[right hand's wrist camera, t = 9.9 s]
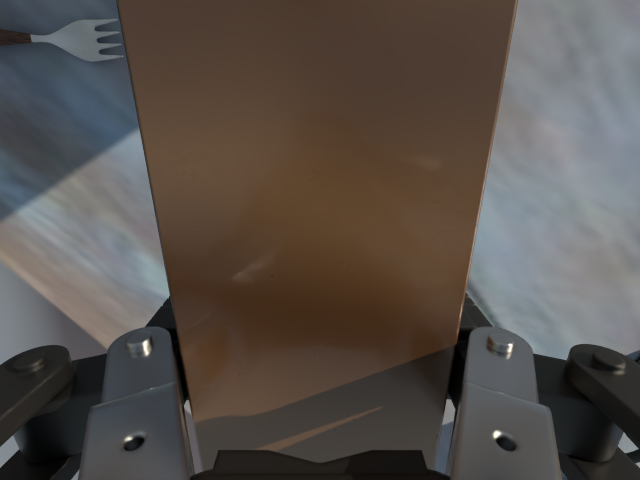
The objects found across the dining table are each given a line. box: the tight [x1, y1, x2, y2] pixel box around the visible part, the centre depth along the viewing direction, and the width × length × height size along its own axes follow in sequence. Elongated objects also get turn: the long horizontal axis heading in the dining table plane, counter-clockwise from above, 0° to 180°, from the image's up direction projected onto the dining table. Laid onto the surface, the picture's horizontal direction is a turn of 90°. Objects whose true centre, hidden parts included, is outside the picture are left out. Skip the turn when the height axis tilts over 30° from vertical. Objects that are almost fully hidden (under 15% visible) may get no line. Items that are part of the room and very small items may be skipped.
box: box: [116, 0, 518, 472], centre depth 11 cm, size 21×6×12 cm, turn 0°
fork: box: [0, 19, 124, 62], centre depth 23 cm, size 3×16×2 cm, turn 88°
